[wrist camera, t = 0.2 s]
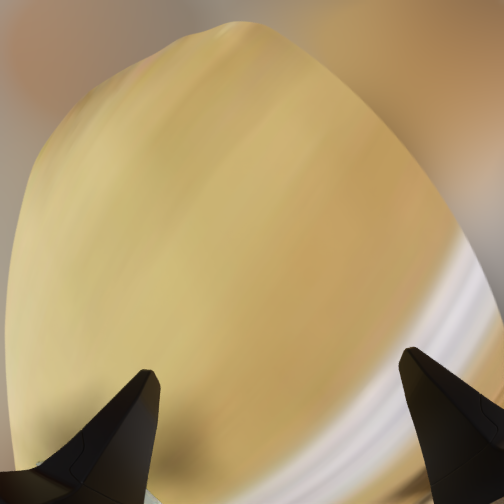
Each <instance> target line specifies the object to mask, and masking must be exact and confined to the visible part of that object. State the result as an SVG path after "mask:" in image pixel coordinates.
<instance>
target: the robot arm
mask: <svg viewBox="0 0 504 504" xmlns="http://www.w3.org/2000/svg"><path fill="white" fill-rule="evenodd" d="M399 372H400V376H401V380H402V384H403V389H404V393H405V397H406V401H407V405H408V408H409V411H410V414H411V417H412V420H413V423H414V426H415V430H416V433H417V436H418V440H419V443H420V447H421V450H422V454H423V458H424V461H425V465H426V469H427V473H428V477H429V482H430V486H431V492H432V496H433V501H434V504H504V409H503V408H501V407H499V406H498V405H496V404H495V403H493V402H492V401H490V400H489V399H487V398H486V397H485V396H483V395H482V394H480V393H479V392H478V391H476V390H475V389H474V388H472V387H471V386H470V385H468V384H467V383H465V382H464V381H463V380H461V379H460V378H459V377H457V376H456V375H454V374H453V373H452V372H450V371H449V370H447V369H446V368H445V367H443V366H442V365H440V364H439V363H438V362H436V361H435V360H433V359H432V358H431V357H429V356H428V355H426V354H425V353H424V352H422V351H421V350H419V349H418V348H416V347H410V348H406V349H405V350H404V352H403V354H402V357H401V359H400V361H399ZM160 389H161V388H160V383H159V381H158V379H157V377H156V375H155V373H154V371H152V370H147V369H142V370H140V371H139V372H138V373H137V374H136V375H135V376H134V377H133V378H132V379H131V380H130V381H129V382H128V383H127V384H126V385H125V386H124V387H123V388H122V389H121V390H120V391H119V393H118V394H117V395H116V396H115V397H114V398H113V399H112V400H111V401H110V402H109V403H108V404H107V405H106V406H105V407H104V408H103V409H102V410H101V411H100V412H99V413H98V414H97V415H96V416H95V417H94V418H93V419H92V420H91V421H90V422H89V423H88V424H87V425H86V426H85V427H84V428H83V429H82V430H80V431H79V432H78V433H77V434H76V435H75V436H74V437H73V438H72V439H71V440H70V441H69V442H68V443H67V444H66V445H64V446H63V447H62V448H61V449H60V450H58V451H57V452H56V453H55V454H53V455H52V456H51V457H49V458H48V459H47V460H45V461H44V462H43V463H41V464H40V465H39V466H37V467H35V468H32V469H29V470H21V471H9V472H0V504H144V499H145V493H146V486H147V480H148V473H149V467H150V462H151V456H152V450H153V445H154V440H155V434H156V429H157V423H158V412H159V400H160Z"/></svg>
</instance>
